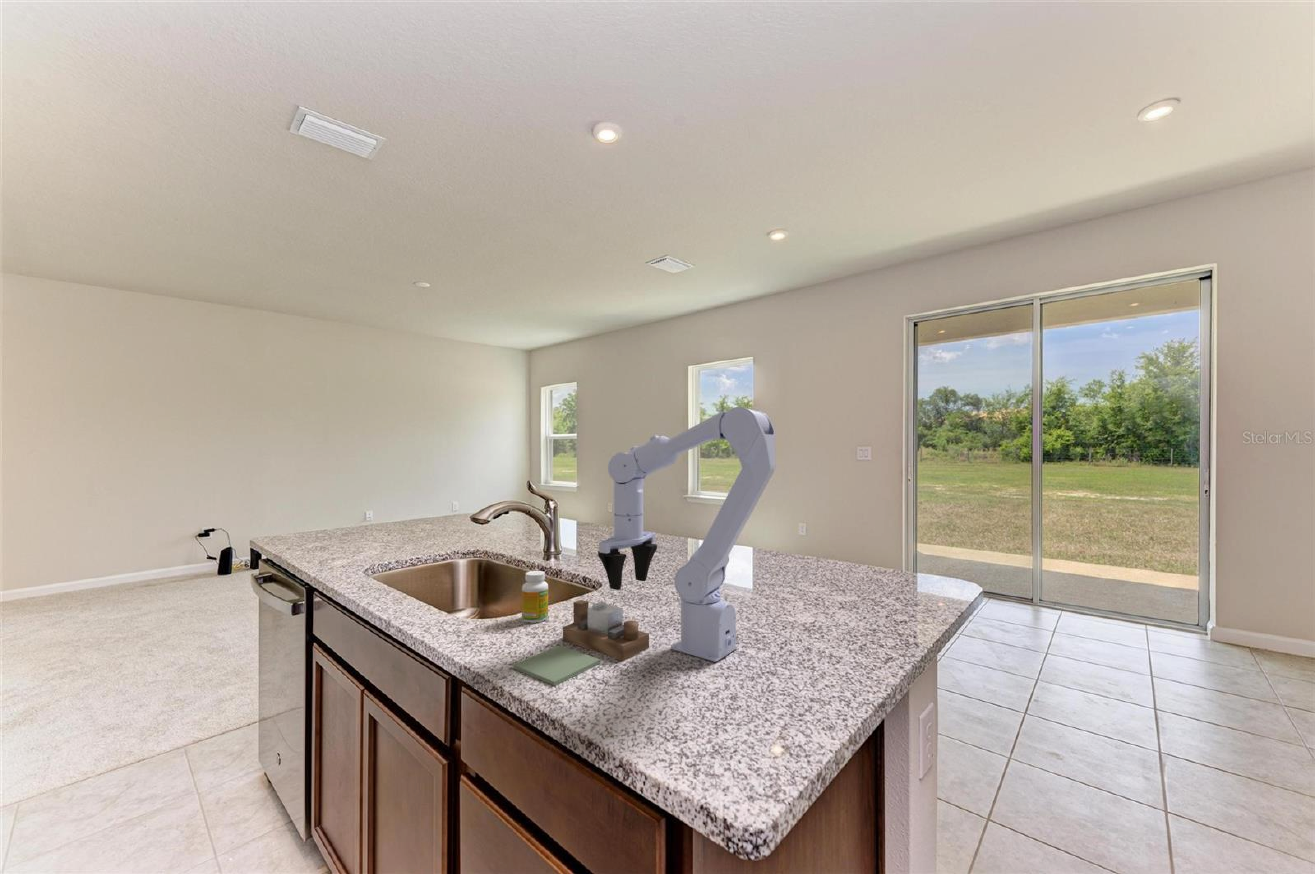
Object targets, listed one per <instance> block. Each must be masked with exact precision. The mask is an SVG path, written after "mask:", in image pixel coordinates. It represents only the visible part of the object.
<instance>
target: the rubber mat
mask: <svg viewBox="0 0 1315 874" xmlns="http://www.w3.org/2000/svg"><path fill="white" fill-rule="evenodd" d="M599 664H601V659H600V658H597V657H594V656H591V655H588V654H585V653H583V652H580V651H577V650H574V649H571V648H568V647H565V646H562V645H557V646H555V647H553V648H550V649H548V650H544V651H543V652H541V653H538V654H536V655H534V656H531V657H528V658H526V659H523V660H520V661H519V662H516V663H514V664H512V669H514V670H516V671H518V672H521V673H523V674H525V675H528V676H530V677H532V678H535V679H538V680H539V679H540V681H541V682H545V683H546V684H549V685H551V686H554V687H555V686H557V685H559V684H561V683H564V682H565V681H567V680H569V679H571V678H573V677H575V676H577V674H578V675H579V674H581V673H583V672H586V671H587V670H590V669H591V668H593V667H596V666H598V665H599Z"/></svg>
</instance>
